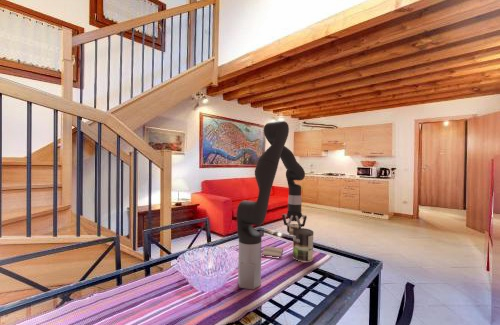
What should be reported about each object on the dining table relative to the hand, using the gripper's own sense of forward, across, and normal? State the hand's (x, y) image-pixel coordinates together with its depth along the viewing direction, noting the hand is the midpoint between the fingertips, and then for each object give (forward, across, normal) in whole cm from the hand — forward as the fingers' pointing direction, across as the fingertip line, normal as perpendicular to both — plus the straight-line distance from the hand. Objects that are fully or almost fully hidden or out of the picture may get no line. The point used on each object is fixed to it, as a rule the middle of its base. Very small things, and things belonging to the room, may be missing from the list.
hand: (294, 233), depth 132 cm
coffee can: (+10, +5, -11) cm, 15 cm away
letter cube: (+1, 0, 0) cm, 1 cm away
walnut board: (+10, -11, -9) cm, 17 cm away
